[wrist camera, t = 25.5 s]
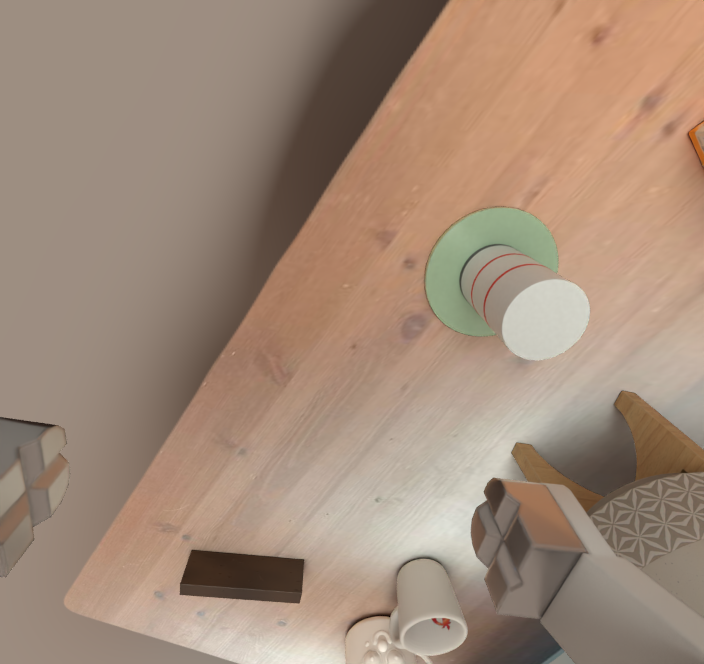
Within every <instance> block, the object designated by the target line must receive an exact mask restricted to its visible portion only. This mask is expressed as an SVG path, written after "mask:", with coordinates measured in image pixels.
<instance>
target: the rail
mask: <svg viewBox="0 0 704 664" xmlns="http://www.w3.org/2000/svg"><path fill="white" fill-rule="evenodd" d="M303 567H304V560H300V559H288V558H277V557H265V556H254V555H242V554H230V553H219V552H207V551H196V550H192V551H191V553H190V556H189V559H188V562H187V565H186V568H185V571H184V574H183V577H182V580H181V583H180V595H189V596H203V597H216V598H230V599H244V600H258V601H272V602H285V603H300V599H301V595H302V583H303Z"/></svg>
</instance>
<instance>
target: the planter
mask: <svg viewBox="0 0 704 664" xmlns="http://www.w3.org/2000/svg"><path fill="white" fill-rule="evenodd" d="M614 405H615V406H616V407H617V408H618V409H619V410H620V412H621V413H622V415H623V416H624V418H625V420H626V421H627V423H628V425H629V427H630V430H631V433H632V435H633V439H634V443H635V448H636V456H637V470H636V478H635V481H634V482H631V483H629V484H627V485H624V486H622V487H620V488H618V489H617V490H615V491H613V492H611V493H610V494H608V495H607V496H605V497H604V496H601V495H599V494H596V493H594V492H592V491H590V490H588V489H586V488H584V487H582V486H580V485H578V484H576V483H575V482H573V481H571V480H570V479H568V478H567V477H565V476H564V475H562V474H561V473H560V472H558V471H557V470H555V469H554V468H553V467H552V466H551V465H549V464H548V463H547V462H546V461H545V460H544V459H543V458H542V457H541V456H540V455H539V454H538V453H537V452H536V451H535V449H534V448H533V446H532V445H529V444H522V443H516V445H515V447H514V449H513V451H512V455H513V457H514V458H515V460H516V462H517V463H518V465H519V467H520V469H521V470H522V472H523V474H524V475H525V477H526V479H527V481H528V482H536V483H549V484H559V485H564V486H565V487H567V488H568V489H570V490H571V492H572V493H573V495H574V496H575V497H576V499H577V500H578V502H579V503H580V505H581V506H582V507H583V509H584V510H585V512H586V513H587V515H588V516H589V518H590V519H591V520H592V522H593V523H594V525H595V526H596V528H597V529H598V530H599V532H600V533H601V535H602V536H603V538H604V539H605V540H606V542H607V543H608V545H609V546H610V548H611V549H612V551H613V552H614V553H615V555H616V556H617V557H623V558H626V559H627V560H628V561H629V562H631V563H632V564H633V565H635V566H636V567H637V568H639V569H640V570H641V571H643V572H644V573H645V574H647V575H648V576H649V577H651V578H652V579H653V580H655V581H656V582H657V583H658V584H660V585H661V586H662V587H664V588H665V589H666V590H668V591H669V592H670V593H672V594H673V595H674V596H676V597H677V598H678V599H680V600H681V601H682V602H684V603H685V604H686V605H688V606H689V607H690V608H691V609H693V610H694V611H695V612H697V613H698V614H699V615H701V616H702V617H703V618H704V450H703V449H702V448H701V447H699V446H698V445H697V444H696V443H695V442H693V441H692V440H691V439H690V438H689V437H687V436H686V435H685V434H684V433H683V432H681V431H680V430H679V429H678V428H676V427H675V426H674V425H673V424H672V423H670V422H669V421H668V420H667V419H666V418H664V417H663V416H662V415H661V414H660V413H658V412H657V411H656V410H655V409H653V408H652V407H651V406H650V405H649V404H647V403H646V402H645V401H644V400H643V399H641V398H640V397H639V396H638V395H637V394H635V393H632V392H626V391H622V392H621V393H620V395H619V397H618V399H617V400H616V402H615V404H614Z"/></svg>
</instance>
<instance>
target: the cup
mask: <svg viewBox="0 0 704 664" xmlns="http://www.w3.org/2000/svg"><path fill="white" fill-rule="evenodd" d="M397 600H398V606H397V607H396V608H395V609H394V610H393V612H392V614H391V617H390V623H389V631H390V638H391V641H392V643H393V645H394V646H396V647H397V648H400V649H407V650H408V651H410V652H412V653H415V654H418V655H425V656H431V655H439V654H444V653H447V652H449V651H452V650H454V649H455V648H457V647H458V646H460V645H461V644H462V643H463V642H464V640H465V639H466V637H467V633H468V629H467V624H466V622H465V619H464V616H463V614H462V611H461V608H460V606H459V603H458V601H457V598H456V595H455V593H454V590H453V587H452V585H451V582H450V580H449V577H448V575H447V573H446V571H445V569H444V568H443V567H442V565H440V564H439V563H438V562H436V561H434V560H430V559H417V560H413V561H411V562H409V563H407V564H406V565H404V566H403V567H402V568H401V570H400V571H399V574H398V577H397Z"/></svg>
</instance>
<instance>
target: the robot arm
mask: <svg viewBox="0 0 704 664" xmlns="http://www.w3.org/2000/svg"><path fill="white" fill-rule="evenodd" d="M66 444H67V441H66V435H65V429H64V428H62V427H60V426H58V425H52V424H45V423H38V422H31V421H24V420H17V419H10V418H3V417H0V577H6V576H7V575H8V574H9V572H10V571H11V570H12V568H13V567H14V566H15V564H16V563H17V562H18V560H19V559H20V558H21V556H22V555H23V554H24V552H25V551H26V550H27V548H28V547H29V546H30V545H31V543H32V542H33V541H34V534H33V527H34V526H36V525H38V524H39V523H41V522H43V521H45V520H46V519H48V518H50V517H51V516H52V515H53V513H54V512H55V511H56V509H57V508H58V506H59V505H60V504H61V502H62V500H63V497H64V495H65V493H66V490H67V488H68V485H69V478H70V466H69V462H68V461H67V460H66V459H65V458H64V457H63V456H62V455H61V454H60V453H59V452H60V451H61V450H62V449H63V448H64V447H65V445H66ZM484 494H485V496H486V499H487V501H485V502H484V503H482V504H481V505H480V506H478V507H477V508H476V510H475V513H474V515H473V518H472V524H471V537H472V544H473V547H474V550H475V553H476V556H477V558H478V559H479V560H480V561H481V562H482V563H483V564H484V565H485V566H486V567H487V568H488V570H487V573H486V575H485V578H484V579H485V582H486V585H487V587H488V590H489V593H490V596H491V599H492V601H493V604H494V607H495V610H496V612H497V614H499V615H509V616H518V617H527V618H537V619H541V620H540V622H541V623H542V625H543V626H544V627H545V628H546V629H547V631H548V632H549V633H550V634H551V635H552V637H553V638H554V639H555V640H556V641H557V643H558V644H559V645H560V646H561V647H562V649H563V650H564V651H565V652H566V653H567V655H568V656H569V657H570V658H571V659H572V660H573V662H574V663H575V664H704V618H703V617H702V616H701V615H699V614H698V613H697V612H695V611H694V610H693V609H691V608H690V607H689V606H688V605H686V604H685V603H684V602H682V601H681V600H680V599H678V598H677V597H676V596H674V595H673V594H672V593H670V592H669V591H668V590H666V589H665V588H664V587H662V586H661V585H660V584H658V583H657V582H656V581H655V580H653V579H652V578H651V577H649V576H648V575H647V574H645V573H644V572H643V571H641V570H640V569H639V568H637V567H636V566H635V565H633V564H632V563H631V562H629V561H628V560H627V559H626V558H623V557H617V556H616V555H615V553H614V552H613V551H612V549H611V548H610V546H609V545H608V543H607V542H606V540H605V539H604V538H603V536H602V535H601V533H600V532H599V530H598V529H597V528H596V526H595V525H594V523H593V522H592V520H591V519H590V518H589V516H588V515H587V513H586V512H585V510H584V509H583V507H582V506H581V505H580V503H579V502H578V500H577V499H576V497H575V496H574V495H573V493H572V492H571V490H570V489H568V488H567V487H565V486H564V485H559V484H549V483H536V482H527V481H518V480H509V479H500V478H492V479H491V480H490V481H489V482H488V483H487V486H486V488H485V490H484Z"/></svg>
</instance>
